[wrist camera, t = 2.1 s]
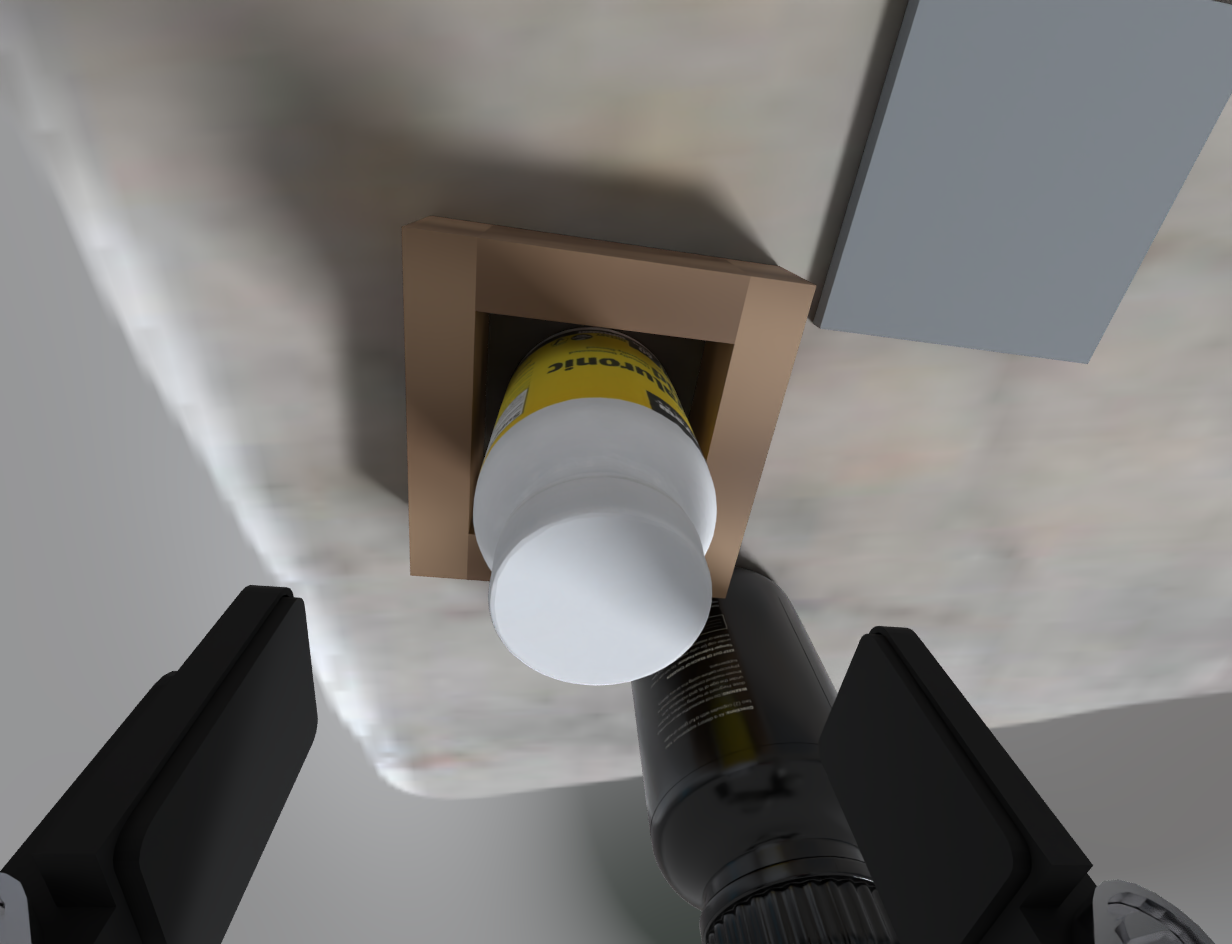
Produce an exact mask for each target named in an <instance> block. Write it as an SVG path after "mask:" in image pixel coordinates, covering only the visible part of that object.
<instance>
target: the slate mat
mask: <svg viewBox="0 0 1232 944" xmlns="http://www.w3.org/2000/svg"><path fill="white" fill-rule="evenodd" d="M1231 94H1232V5H1231V4H1226V3H1222V2H1218V1H1213V0H909V2H908V5H907V8H906V12H905V15H904V18H903V22H902V25H901V29H900V32H899V35H898V39H897V42H896V45H895V49H894V52H893V55H892V59H891V62H890V66H889V69H888V72H887V76H886V79H885V82H884V86H883V89H882V92H881V96H880V99H879V103H878V106H877V109H876V113H875V116H874V119H873V123H872V126H871V129H870V133H869V136H868V139H867V143H866V146H865V150H864V153H863V156H862V160H861V163H860V166H859V170H858V173H857V176H856V180H855V183H854V187H853V190H852V193H851V197H850V200H849V203H848V207H847V210H846V213H845V217H844V220H843V224H842V227H841V230H840V234H839V237H838V240H837V244H836V247H835V250H834V254H833V257H832V260H831V264H830V267H829V271H828V274H827V277H826V281H825V284H824V287H823V291H822V294H821V297H820V301H819V304H818V308H817V311H816V314H815V318H814V321H813V324H814V325H816V326H817V327H819V328H821V329H828V330H836V331H843V332H851V333H858V334H866V335H873V336H881V337H888V338H896V339H904V340H911V341H919V342H926V343H934V344H941V345H949V346H956V347H964V348H971V349H979V350H986V351H994V352H1001V353H1009V354H1016V355H1024V356H1031V357H1039V358H1047V359H1054V360H1062V361H1069V362H1077V363H1084V364H1088V362H1089V361H1090V359H1091V357H1092V355H1093V353H1094V351H1095V349H1096V347H1097V345H1098V344H1099V342H1100V340H1101V338H1102V336H1103V334H1104V332H1105V330H1106V329H1107V327H1108V325H1109V323H1110V321H1111V319H1112V317H1113V315H1114V313H1115V312H1116V310H1117V308H1118V306H1119V304H1120V302H1121V300H1122V298H1123V297H1124V295H1125V293H1126V291H1127V289H1128V287H1129V285H1130V283H1131V282H1132V280H1133V278H1134V276H1135V274H1136V272H1137V270H1138V268H1139V266H1140V265H1141V263H1142V261H1143V259H1144V257H1145V255H1146V253H1147V251H1148V250H1149V248H1150V246H1151V244H1152V242H1153V240H1154V238H1155V236H1156V235H1157V233H1158V231H1159V229H1160V227H1161V225H1162V223H1163V221H1164V219H1165V218H1166V216H1167V214H1168V212H1169V210H1170V208H1171V206H1172V204H1173V203H1174V201H1175V199H1176V197H1177V195H1178V193H1179V191H1180V189H1181V188H1182V186H1183V184H1184V182H1185V180H1186V178H1187V176H1188V174H1189V172H1190V171H1191V169H1192V167H1193V165H1194V163H1195V161H1196V159H1197V157H1198V156H1199V154H1200V152H1201V150H1202V148H1203V146H1204V144H1205V142H1206V141H1207V139H1208V137H1209V135H1210V133H1211V131H1212V129H1213V127H1214V125H1215V124H1216V122H1217V120H1218V118H1219V116H1220V114H1221V112H1222V110H1223V109H1224V107H1225V105H1226V103H1227V101H1228V99H1229V97H1230V95H1231Z"/></svg>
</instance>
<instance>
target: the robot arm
mask: <svg viewBox="0 0 1232 944" xmlns="http://www.w3.org/2000/svg"><path fill="white" fill-rule="evenodd" d="M317 722H318V718H317V708H316V700H315V691H314V682H313V674H312V665H311V656H310V648H309V639H308V630H307V622H306V613H305V605H304V601H303V599H302V598H295V597H294V596H293V592H292V591H291V589H290V588H287V587H272V586H256V585H249V586H247V587H245V588H244V589H243V590H242V591H241V592H240V594H239V595H238V596H237V597H236V599H235V600H234V601H233V602H232V604H231V605H230V606H229V608H228V609H227V610H226V611H225V612H224V614H223V615H222V616H221V617H220V619H219V620H218V621H217V622H216V624H215V625H214V626H213V627H212V629H211V630H210V631H209V632H208V634H207V635H206V636H205V638H204V639H203V640H202V641H201V642H200V644H199V645H198V646H197V647H196V649H195V650H194V651H193V652H192V654H191V655H190V656H189V657H188V659H187V660H186V661H185V662H184V664H183V665H182V666H181V667H180V669H179V670H178V671H172V672H170V673H168V674H166V675H164V676H163V677H162V678H161V679H160V680H159V681H158V682H156V683H155V685H154V686H153V687H152V688H151V689H150V690H149V692H148V693H147V694H146V695H145V696H144V698H143V699H142V700H141V701H140V702H139V704H138V705H137V706H136V707H135V709H134V710H133V711H132V712H131V713H130V715H129V716H128V717H127V718H126V719H125V721H124V722H123V723H122V724H121V726H120V727H119V728H118V729H117V731H116V732H115V733H114V734H113V735H112V736H111V738H110V739H109V740H108V741H107V743H106V744H105V745H104V746H103V747H102V749H101V750H100V751H99V752H98V754H97V755H96V756H95V757H94V758H93V760H92V761H91V762H90V763H89V764H88V766H87V767H86V768H85V769H84V770H83V772H82V773H81V774H80V775H79V776H78V778H77V779H76V780H75V781H74V783H73V784H72V785H71V786H70V787H69V789H68V790H67V791H66V792H65V793H64V795H63V796H62V797H61V799H60V800H59V801H58V802H57V803H56V804H55V806H54V807H53V808H52V809H51V810H50V812H49V813H48V814H47V815H46V816H45V818H44V819H43V820H42V821H41V823H40V824H39V825H38V826H37V827H36V829H35V830H34V831H33V832H32V834H31V835H30V836H29V837H28V838H27V840H26V841H25V842H24V843H23V845H22V846H21V847H20V848H19V849H18V850H17V852H16V853H15V854H14V855H13V856H12V858H11V859H10V860H9V862H8V863H7V864H6V865H5V866H4V867H3V869H2V870H1V871H0V944H221V942H222V940H223V938H224V936H225V934H226V931H227V929H228V927H229V925H230V923H231V921H232V918H233V916H234V914H235V912H236V910H237V907H238V905H239V903H240V901H241V899H242V896H243V894H244V892H245V890H246V888H247V886H248V883H249V881H250V879H251V877H252V875H253V872H254V870H255V868H256V866H257V864H258V861H259V859H260V857H261V855H262V852H263V851H264V848H265V846H266V844H267V842H268V840H269V837H270V835H271V833H272V831H273V829H274V826H275V824H276V822H277V820H278V817H279V816H280V813H281V811H282V809H283V807H284V805H285V802H286V800H287V798H288V796H289V794H290V791H291V789H292V787H293V785H294V783H295V781H296V778H297V776H298V774H299V772H300V770H301V767H302V765H303V763H304V761H305V759H306V757H307V754H308V752H309V750H310V748H311V746H312V743H313V741H314V738H315V734H316V730H317ZM818 749H819V756H820V759H821V762H822V764H823V767H824V769H825V771H826V774H827V776H828V778H829V781H830V783H831V785H832V787H833V790H834V792H835V794H836V797H837V799H838V801H839V804H840V806H841V808H842V811H843V813H844V815H845V817H846V820H847V822H848V824H849V827H850V829H851V831H852V834H853V836H854V838H855V841H856V843H857V845H858V848H859V850H860V852H861V854H862V857H863V859H864V861H865V864H866V866H867V868H868V871H869V873H870V875H871V878H872V880H873V882H874V884H875V887H876V889H877V891H878V894H879V896H880V898H881V901H882V903H883V905H884V908H885V910H886V912H887V914H888V917H889V919H890V921H891V924H892V926H893V928H894V931H895V933H896V935H897V938H898V940H899V942H900V944H1215V943H1214V942H1213V941H1212V940H1211V938H1210V937H1208V935H1207V934H1206V933H1205V932H1204V931H1203V930H1202V929H1201V928H1200V926H1199V925H1197V924H1196V923H1195V922H1194V921H1193V920H1192V919H1190V918H1189V917H1188V916H1187V915H1186V914H1184V913H1183V912H1182V911H1181V910H1180V909H1179V908H1177V907H1176V906H1174V905H1173V904H1171V903H1170V902H1168V901H1167V900H1165V899H1164V898H1162V897H1160V896H1159V895H1158V894H1156V893H1154V892H1152V891H1150V890H1148V889H1146V888H1144V887H1141V886H1139V885H1137V884H1134V883H1130V882H1126V881H1122V880H1108V881H1103V882H1102V883H1101V884H1100V885H1098V886H1096V885H1095V883H1094V882H1093V881H1092V879H1091V878H1090V876H1089V875H1088V874H1087V872H1088V871H1089V870H1090V869H1091V867H1092V866H1093V865H1092V864H1091V862H1090V861H1089V859H1088V858H1087V857H1086V856H1085V854H1084V853H1083V852H1082V850H1081V849H1080V848H1079V846H1078V845H1077V844H1076V842H1075V841H1074V840H1073V838H1072V837H1071V836H1070V835H1069V833H1068V832H1067V831H1066V829H1065V828H1064V827H1063V825H1062V824H1061V823H1060V821H1059V820H1058V819H1057V818H1056V816H1055V815H1054V814H1053V812H1052V811H1051V810H1050V809H1049V807H1048V806H1047V805H1046V803H1045V802H1044V800H1043V799H1042V798H1041V797H1040V795H1039V794H1038V793H1037V791H1036V790H1035V789H1034V787H1033V786H1032V785H1031V783H1030V782H1029V781H1028V780H1027V778H1026V777H1025V776H1024V774H1023V773H1022V772H1021V771H1020V769H1019V768H1018V766H1017V765H1016V764H1015V763H1014V761H1013V760H1012V759H1011V757H1010V756H1009V755H1008V753H1007V752H1006V751H1005V749H1004V748H1003V747H1002V746H1001V744H1000V743H999V742H998V740H997V739H996V738H995V736H994V735H993V734H992V732H991V731H990V730H989V729H988V727H987V726H986V725H985V723H984V722H983V721H982V719H981V718H980V717H979V715H978V714H977V713H976V711H975V710H974V709H973V708H972V706H971V705H970V704H969V702H968V701H967V700H966V698H965V697H964V696H963V694H962V693H961V692H960V691H959V689H958V688H957V687H956V685H955V684H954V683H953V681H952V680H951V679H950V677H949V676H948V675H947V674H946V672H945V671H944V670H943V668H942V667H941V666H940V664H939V663H938V662H937V660H936V659H935V658H934V657H933V655H932V654H931V653H930V651H929V650H928V649H927V647H926V646H925V645H924V643H923V642H922V641H921V640H920V638H919V637H918V636H917V634H916V633H915V632H914V631H913V630H911V629H909V628H901V627H886V626H876V627H874V628H873V629H871V631H870V633H869V634H865V635H863V636H862V638H861V639H860V642H859V644H858V647H857V649H856V651H855V654H854V656H853V658H852V661H851V663H850V666H849V668H848V670H847V673H846V675H845V678H844V680H843V682H842V685H841V687H840V690H839V692H838V694H837V697H836V699H835V702H834V704H833V706H832V709H831V711H830V714H829V716H828V718H827V721H826V723H825V726H824V728H823V730H822V733H821V735H820V738H819V743H818Z"/></svg>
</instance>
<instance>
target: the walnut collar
mask: <svg viewBox="0 0 1232 944" xmlns="http://www.w3.org/2000/svg"><path fill="white" fill-rule="evenodd" d="M402 264H403V303H404V342H405V381H406V420H407V459H408V498H409V537H410V575H412V576H426V577H439V578H453V579H467V580H480V581H490V578H491V573H492V571H491V570H490V568H489V567H488V565H487V563H486V562H485V560H484V558H483V555H482V553H481V551H480V548H479V546H478V543H477V539H476V535H475V530H474V524H473V506H474V496H475V490H476V485H477V481H478V477H479V474H480V470H481V467H482V464H483V460H484V436H485V413H486V389H487V365H488V341H489V317H490V313H494V314H502V315H510V316H518V317H526V318H534V319H541V320H549V321H557V322H565V323H573V324H581V325H589V326H597V327H604V328H612V329H620V330H628V331H636V332H644V333H652V334H659V335H667V336H675V337H683V338H691V339H699V340H706V342H705V347H704V351H703V356H702V361H701V365H700V370H699V374H698V379H697V384H696V388H695V393H694V398H693V402H692V407H691V411H690V416H689V421H688V422H689V424H690V426H691V429H692V431H693V433H694V435H695V438H696V440H697V442H698V444H699V447H700V449H701V451H702V454H703V456H704V458H705V460H706V462H707V465H708V468H709V472H710V475H711V478H712V481H713V484H714V488H715V494H716V505H717V514H716V524H715V530H714V535H713V538H712V541H711V543H710V546H709V548H708V550H707V552H706V554H705V559H706V562H707V565H708V568H709V571H710V576H711V581H712V597H713V598H726V594H727V591H728V587H729V584H730V580H731V577H732V574H733V570H734V567H735V563H736V560H737V556H738V553H739V550H740V546H741V543H742V539H743V536H744V532H745V529H746V526H747V522H748V519H749V515H750V512H751V508H752V505H753V502H754V498H755V495H756V491H757V488H758V484H759V481H760V478H761V474H762V471H763V467H764V464H765V460H766V457H767V454H768V450H769V447H770V443H771V440H772V436H773V433H774V430H775V426H776V423H777V419H778V416H779V412H780V409H781V406H782V402H783V399H784V395H785V392H786V388H787V385H788V382H789V378H790V375H791V371H792V368H793V364H794V361H795V358H796V354H797V351H798V347H799V344H800V340H801V337H802V334H803V330H804V327H805V323H806V320H807V316H808V313H809V310H810V306H811V303H812V299H813V296H814V292H815V289H816V285H814V284H812V283H811V282H809V281H807V280H805V279H803V278H801V277H799V276H797V275H795V274H793V273H791V272H790V271H788V270H786V269H784V268H782V267H780V266H774V265H767V264H760V263H754V262H747V261H740V260H733V259H726V258H719V257H712V256H705V255H698V254H692V253H685V252H678V251H671V250H664V249H657V248H650V247H643V246H636V245H629V244H623V243H616V242H609V241H602V240H595V239H588V238H581V237H574V236H567V235H561V234H554V233H547V232H540V231H533V230H526V229H519V228H512V227H505V226H499V225H492V224H485V223H478V222H471V221H464V220H457V219H450V218H443V217H436V216H428V217H425V218H423V219H420V220H418V221H415V222H412V223H410V224H407V225H405V226H402Z"/></svg>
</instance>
